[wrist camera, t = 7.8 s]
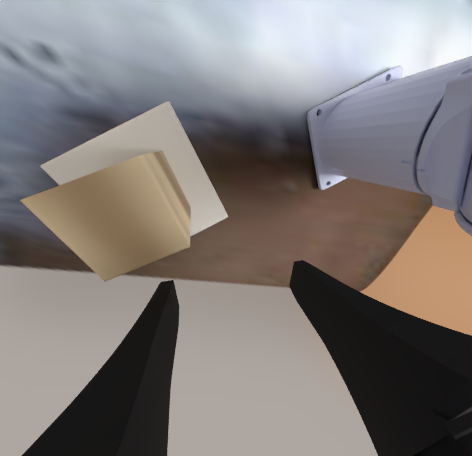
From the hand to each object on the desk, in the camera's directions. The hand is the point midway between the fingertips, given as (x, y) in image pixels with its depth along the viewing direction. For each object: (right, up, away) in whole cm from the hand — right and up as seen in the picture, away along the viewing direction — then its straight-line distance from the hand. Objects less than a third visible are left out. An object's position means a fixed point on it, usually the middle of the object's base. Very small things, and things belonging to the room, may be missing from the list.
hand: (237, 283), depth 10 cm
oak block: (-7, +6, +3) cm, 9 cm away
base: (-7, +7, +5) cm, 11 cm away
